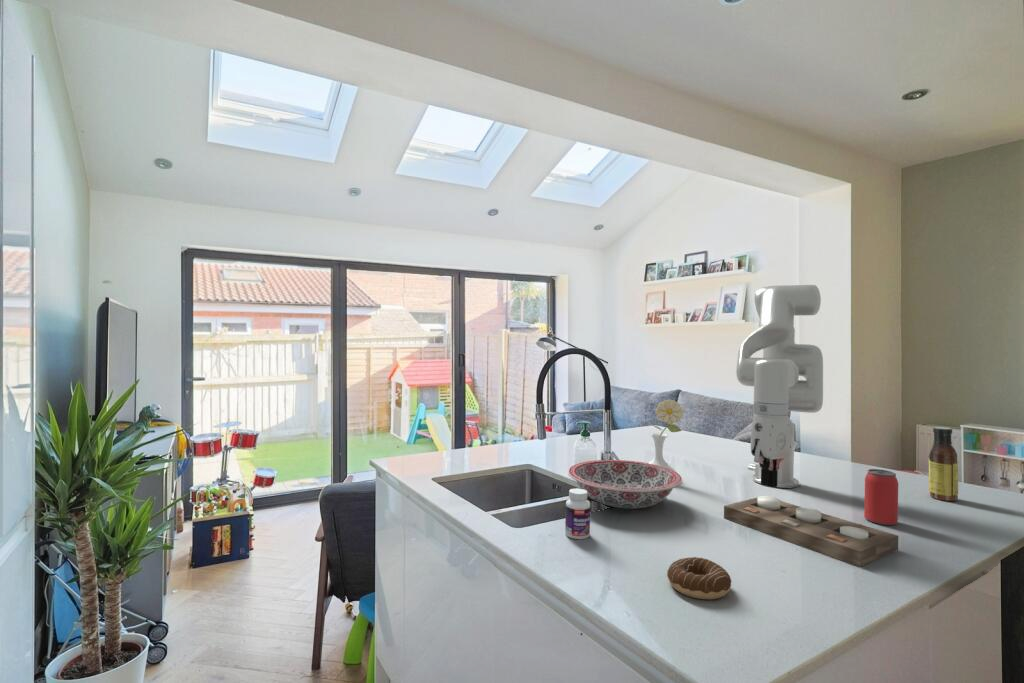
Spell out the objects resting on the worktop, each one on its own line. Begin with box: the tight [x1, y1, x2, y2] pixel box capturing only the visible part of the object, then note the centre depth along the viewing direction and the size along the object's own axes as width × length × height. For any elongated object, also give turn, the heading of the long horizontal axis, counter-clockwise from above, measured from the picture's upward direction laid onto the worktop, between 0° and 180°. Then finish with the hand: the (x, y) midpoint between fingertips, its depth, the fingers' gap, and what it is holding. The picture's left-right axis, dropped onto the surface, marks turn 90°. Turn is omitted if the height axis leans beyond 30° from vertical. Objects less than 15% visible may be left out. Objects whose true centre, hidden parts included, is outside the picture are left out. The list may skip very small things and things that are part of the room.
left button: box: [756, 495, 781, 511], centre depth 124 cm, size 5×5×2 cm
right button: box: [840, 526, 868, 540], centre depth 107 cm, size 5×5×2 cm
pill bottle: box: [564, 488, 591, 540], centre depth 111 cm, size 5×5×10 cm
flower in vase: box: [648, 398, 685, 473], centre depth 156 cm, size 13×11×25 cm
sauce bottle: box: [928, 426, 959, 502], centre depth 141 cm, size 7×6×20 cm
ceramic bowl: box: [567, 459, 683, 510], centre depth 133 cm, size 29×29×8 cm
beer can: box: [863, 468, 899, 526], centre depth 123 cm, size 7×7×12 cm
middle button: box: [796, 506, 822, 524], centre depth 115 cm, size 5×5×2 cm
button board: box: [723, 496, 899, 568], centre depth 115 cm, size 30×16×3 cm, turn 31°
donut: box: [666, 556, 732, 600], centre depth 89 cm, size 11×11×4 cm
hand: (769, 485), depth 123 cm, fingers closed
